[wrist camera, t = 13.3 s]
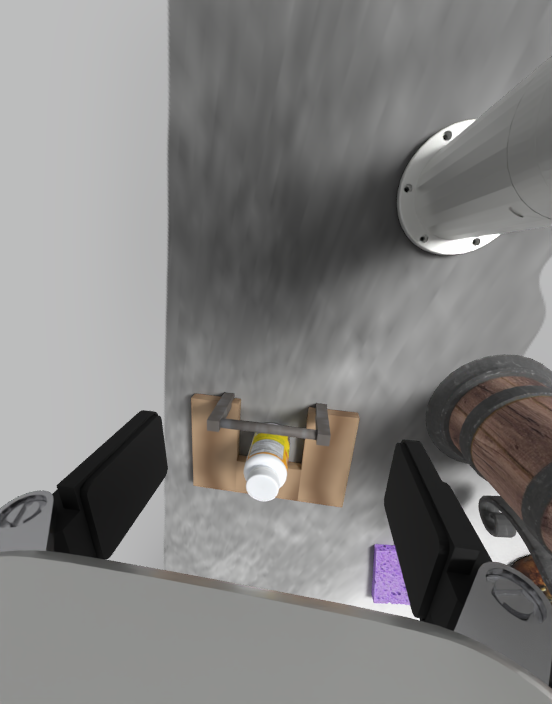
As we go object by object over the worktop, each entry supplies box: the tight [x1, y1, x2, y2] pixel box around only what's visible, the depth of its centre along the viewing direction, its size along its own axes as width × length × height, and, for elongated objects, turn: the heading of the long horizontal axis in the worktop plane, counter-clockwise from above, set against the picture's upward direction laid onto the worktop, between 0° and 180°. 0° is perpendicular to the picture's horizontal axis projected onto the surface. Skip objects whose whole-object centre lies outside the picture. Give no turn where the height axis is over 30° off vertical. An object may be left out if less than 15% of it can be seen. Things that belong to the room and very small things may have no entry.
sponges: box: [372, 544, 410, 605], centre depth 48 cm, size 7×13×2 cm, turn 4°
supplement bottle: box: [244, 423, 290, 501], centre depth 37 cm, size 6×6×10 cm
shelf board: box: [191, 392, 360, 507], centre depth 39 cm, size 24×17×8 cm
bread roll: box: [511, 555, 552, 605], centre depth 43 cm, size 11×11×5 cm
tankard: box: [426, 355, 552, 596], centre depth 29 cm, size 24×17×20 cm
